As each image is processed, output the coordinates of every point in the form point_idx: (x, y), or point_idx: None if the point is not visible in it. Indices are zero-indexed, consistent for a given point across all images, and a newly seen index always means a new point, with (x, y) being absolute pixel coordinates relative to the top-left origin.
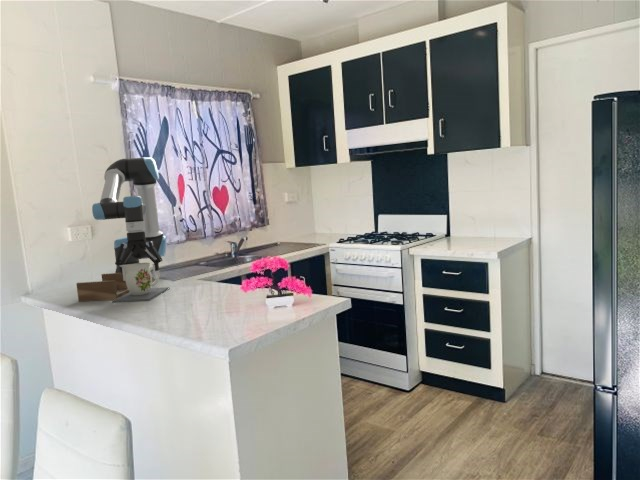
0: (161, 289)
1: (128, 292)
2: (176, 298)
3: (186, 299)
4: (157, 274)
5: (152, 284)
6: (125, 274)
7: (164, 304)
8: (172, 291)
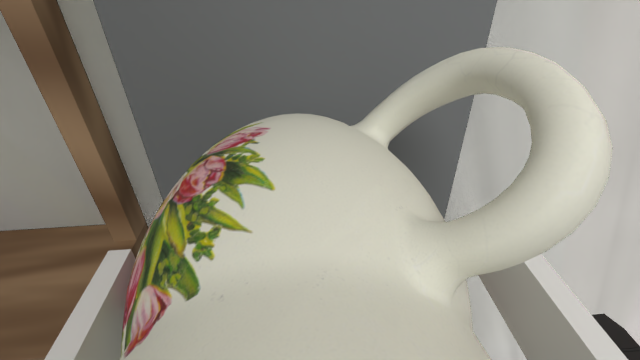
0: (447, 16)
1: (55, 3)
2: (563, 271)
3: (610, 293)
4: (540, 255)
5: (399, 128)
6: (117, 350)
7: (506, 348)
8: (548, 55)
